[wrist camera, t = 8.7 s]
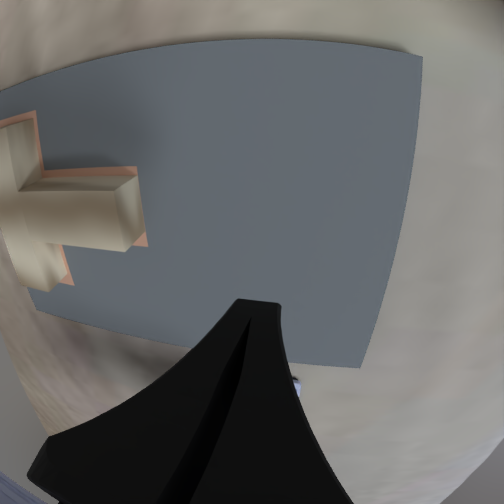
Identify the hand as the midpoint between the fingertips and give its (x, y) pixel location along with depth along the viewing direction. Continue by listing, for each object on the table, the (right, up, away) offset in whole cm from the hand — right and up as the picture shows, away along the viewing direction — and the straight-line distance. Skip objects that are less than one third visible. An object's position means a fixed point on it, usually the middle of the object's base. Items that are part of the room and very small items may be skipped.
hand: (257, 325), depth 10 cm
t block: (-13, +6, +9) cm, 17 cm away
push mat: (-6, +4, +9) cm, 12 cm away
